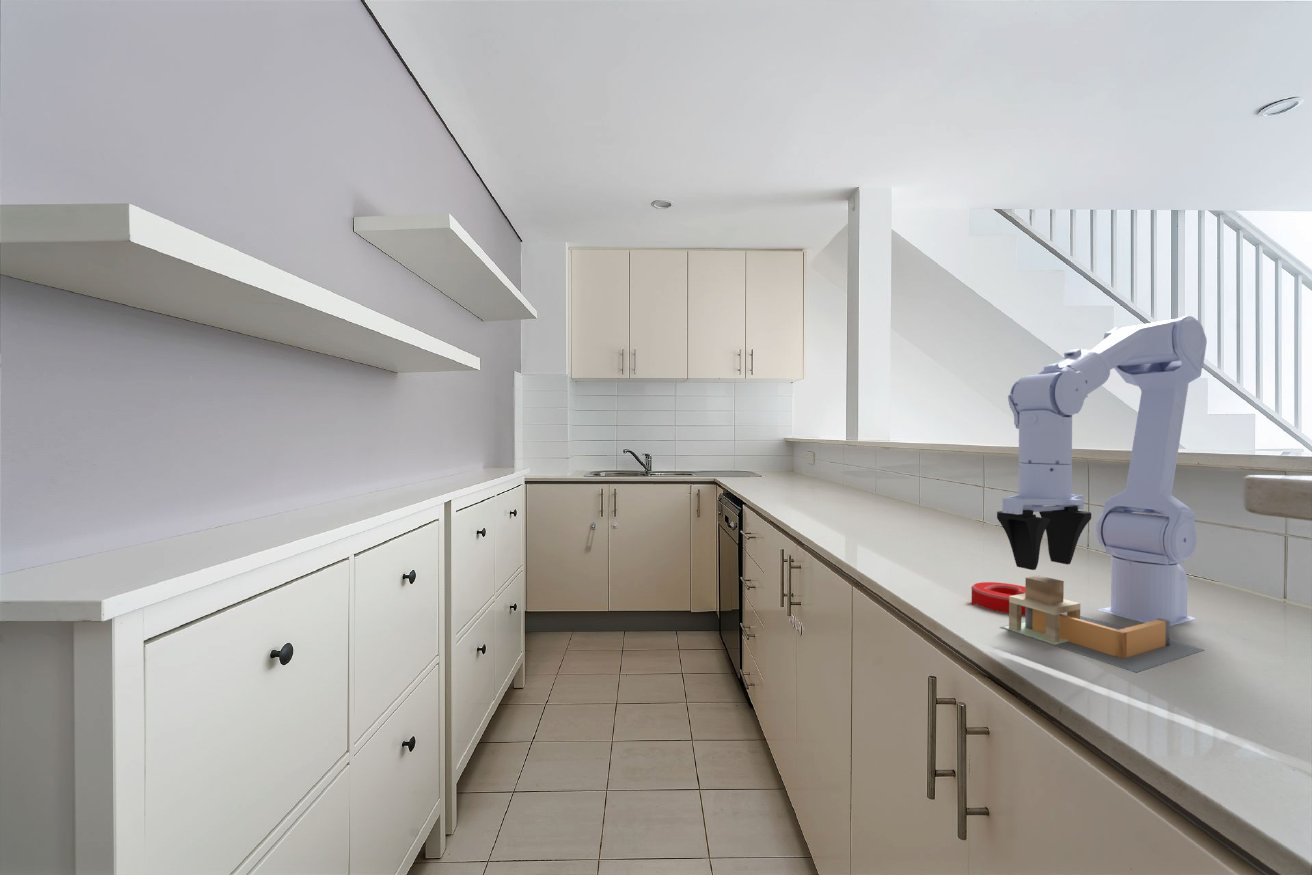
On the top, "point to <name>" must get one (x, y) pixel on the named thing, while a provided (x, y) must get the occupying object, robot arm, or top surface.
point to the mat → (1132, 662)
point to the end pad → (1035, 634)
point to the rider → (1043, 604)
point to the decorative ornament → (995, 595)
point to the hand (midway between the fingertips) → (1043, 565)
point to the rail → (1105, 634)
